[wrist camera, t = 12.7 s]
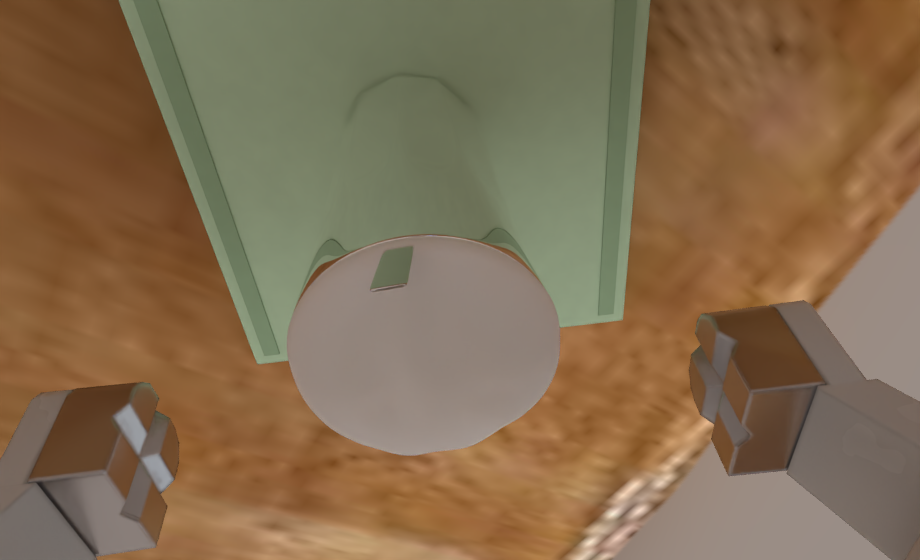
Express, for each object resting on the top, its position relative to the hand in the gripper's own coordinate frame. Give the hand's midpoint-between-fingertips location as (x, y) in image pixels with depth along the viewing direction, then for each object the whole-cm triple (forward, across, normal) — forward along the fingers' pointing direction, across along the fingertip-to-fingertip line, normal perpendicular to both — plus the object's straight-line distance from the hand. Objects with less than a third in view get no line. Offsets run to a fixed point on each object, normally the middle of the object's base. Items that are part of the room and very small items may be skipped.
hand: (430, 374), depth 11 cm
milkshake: (+9, 0, 0) cm, 9 cm away
